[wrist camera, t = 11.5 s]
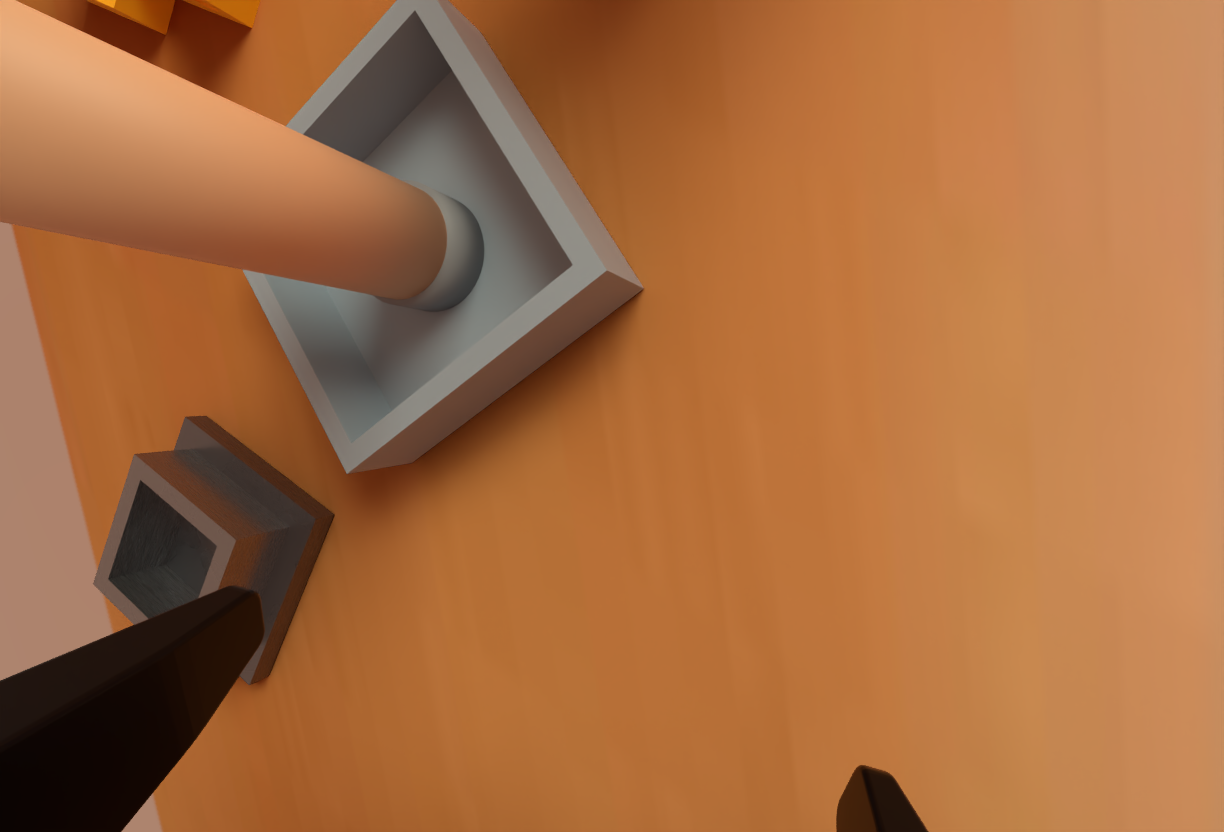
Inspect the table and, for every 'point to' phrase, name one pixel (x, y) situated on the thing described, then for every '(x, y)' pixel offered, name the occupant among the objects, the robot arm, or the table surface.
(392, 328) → the bin
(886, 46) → the table surface
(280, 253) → the tan rounded tapered piece
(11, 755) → the robot arm
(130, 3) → the pipe clamp
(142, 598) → the stud base
